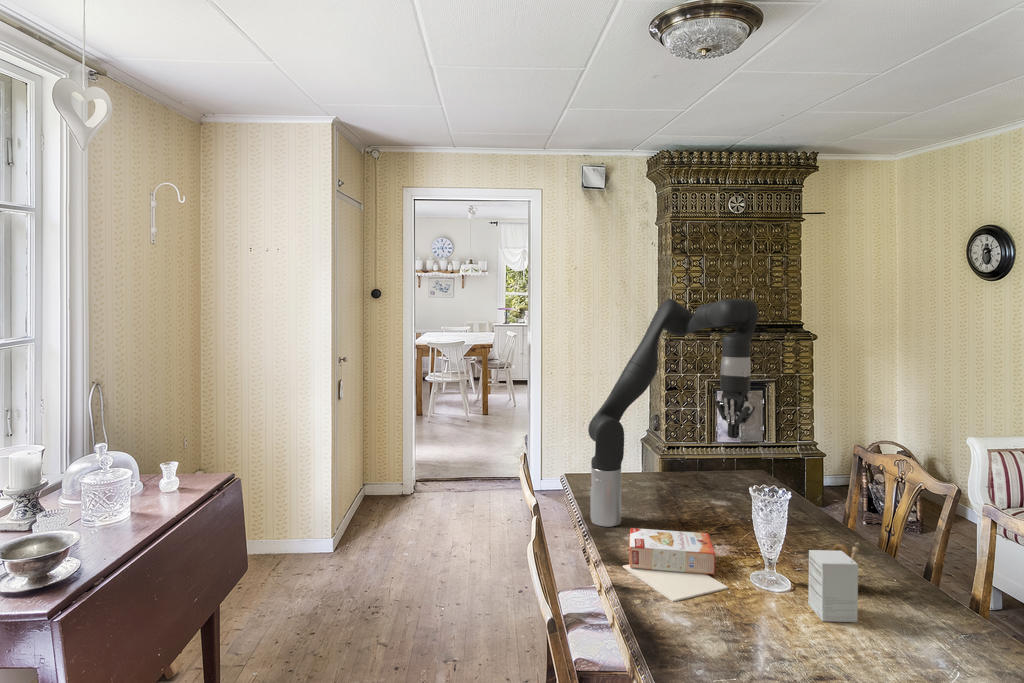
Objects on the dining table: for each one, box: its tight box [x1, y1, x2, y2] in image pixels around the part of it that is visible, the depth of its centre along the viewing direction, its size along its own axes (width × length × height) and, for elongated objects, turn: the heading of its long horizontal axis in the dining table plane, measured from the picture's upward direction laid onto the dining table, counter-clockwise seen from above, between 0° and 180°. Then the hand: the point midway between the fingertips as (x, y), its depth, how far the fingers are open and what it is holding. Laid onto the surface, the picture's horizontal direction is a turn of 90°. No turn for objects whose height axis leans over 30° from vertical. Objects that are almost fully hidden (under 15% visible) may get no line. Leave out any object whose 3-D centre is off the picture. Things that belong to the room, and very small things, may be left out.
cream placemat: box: [622, 563, 729, 603], centre depth 144 cm, size 20×16×1 cm
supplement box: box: [807, 549, 859, 623], centre depth 126 cm, size 7×7×13 cm
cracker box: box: [628, 527, 716, 575], centre depth 153 cm, size 14×6×21 cm
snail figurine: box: [832, 542, 860, 562], centre depth 138 cm, size 5×6×12 cm
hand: (733, 437), depth 157 cm, fingers closed
